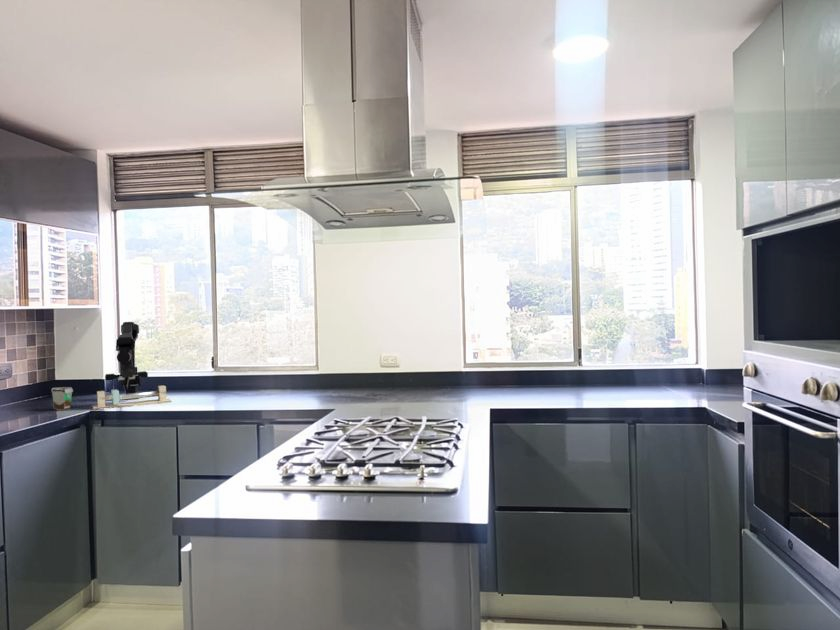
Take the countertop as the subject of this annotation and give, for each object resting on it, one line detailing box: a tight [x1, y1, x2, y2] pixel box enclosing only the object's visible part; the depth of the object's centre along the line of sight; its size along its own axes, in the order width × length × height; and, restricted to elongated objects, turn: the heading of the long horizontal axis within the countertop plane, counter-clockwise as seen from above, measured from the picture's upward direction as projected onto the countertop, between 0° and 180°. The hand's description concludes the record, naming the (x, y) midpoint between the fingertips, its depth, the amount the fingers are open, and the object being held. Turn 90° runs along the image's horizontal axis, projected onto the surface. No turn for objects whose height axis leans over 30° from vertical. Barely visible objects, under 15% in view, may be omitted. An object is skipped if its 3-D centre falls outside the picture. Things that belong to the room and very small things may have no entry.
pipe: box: [96, 390, 159, 403], centre depth 286 cm, size 3×30×3 cm, turn 122°
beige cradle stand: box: [91, 385, 172, 410], centre depth 286 cm, size 10×34×8 cm, turn 122°
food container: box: [51, 386, 74, 411], centre depth 280 cm, size 12×6×10 cm, turn 59°
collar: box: [110, 389, 120, 405], centre depth 284 cm, size 11×2×6 cm, turn 32°
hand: (127, 393), depth 290 cm, fingers closed
